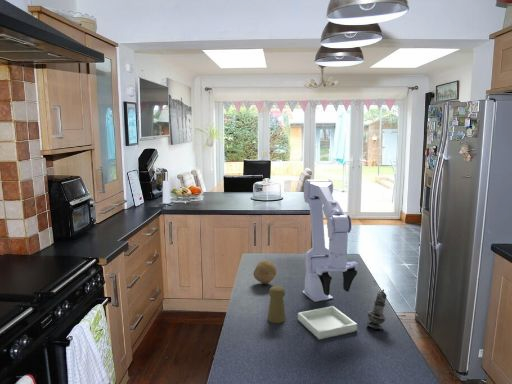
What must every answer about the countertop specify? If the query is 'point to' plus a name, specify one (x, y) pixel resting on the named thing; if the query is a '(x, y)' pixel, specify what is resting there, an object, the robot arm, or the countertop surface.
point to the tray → (327, 322)
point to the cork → (276, 305)
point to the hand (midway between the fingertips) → (336, 292)
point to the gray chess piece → (377, 311)
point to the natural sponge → (265, 272)
